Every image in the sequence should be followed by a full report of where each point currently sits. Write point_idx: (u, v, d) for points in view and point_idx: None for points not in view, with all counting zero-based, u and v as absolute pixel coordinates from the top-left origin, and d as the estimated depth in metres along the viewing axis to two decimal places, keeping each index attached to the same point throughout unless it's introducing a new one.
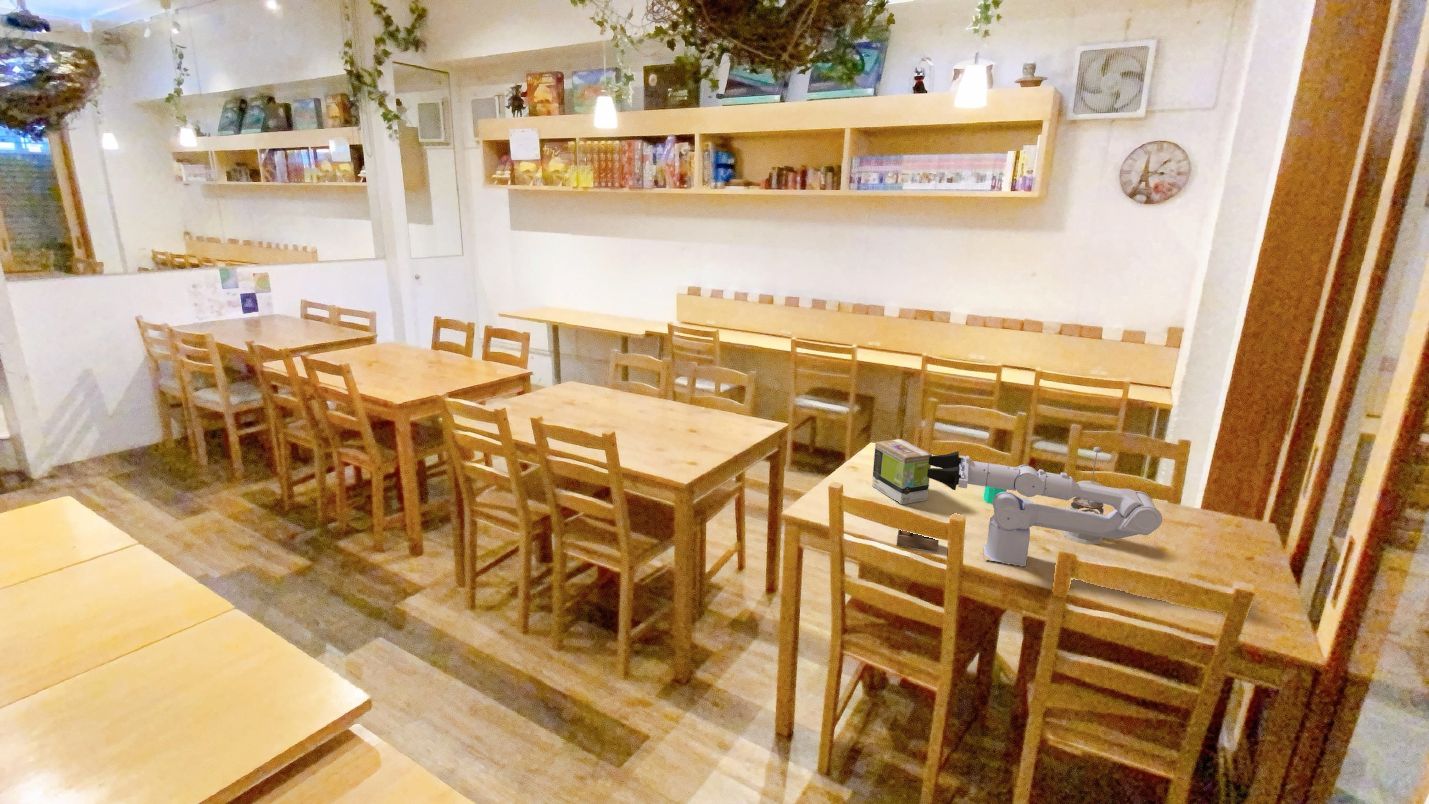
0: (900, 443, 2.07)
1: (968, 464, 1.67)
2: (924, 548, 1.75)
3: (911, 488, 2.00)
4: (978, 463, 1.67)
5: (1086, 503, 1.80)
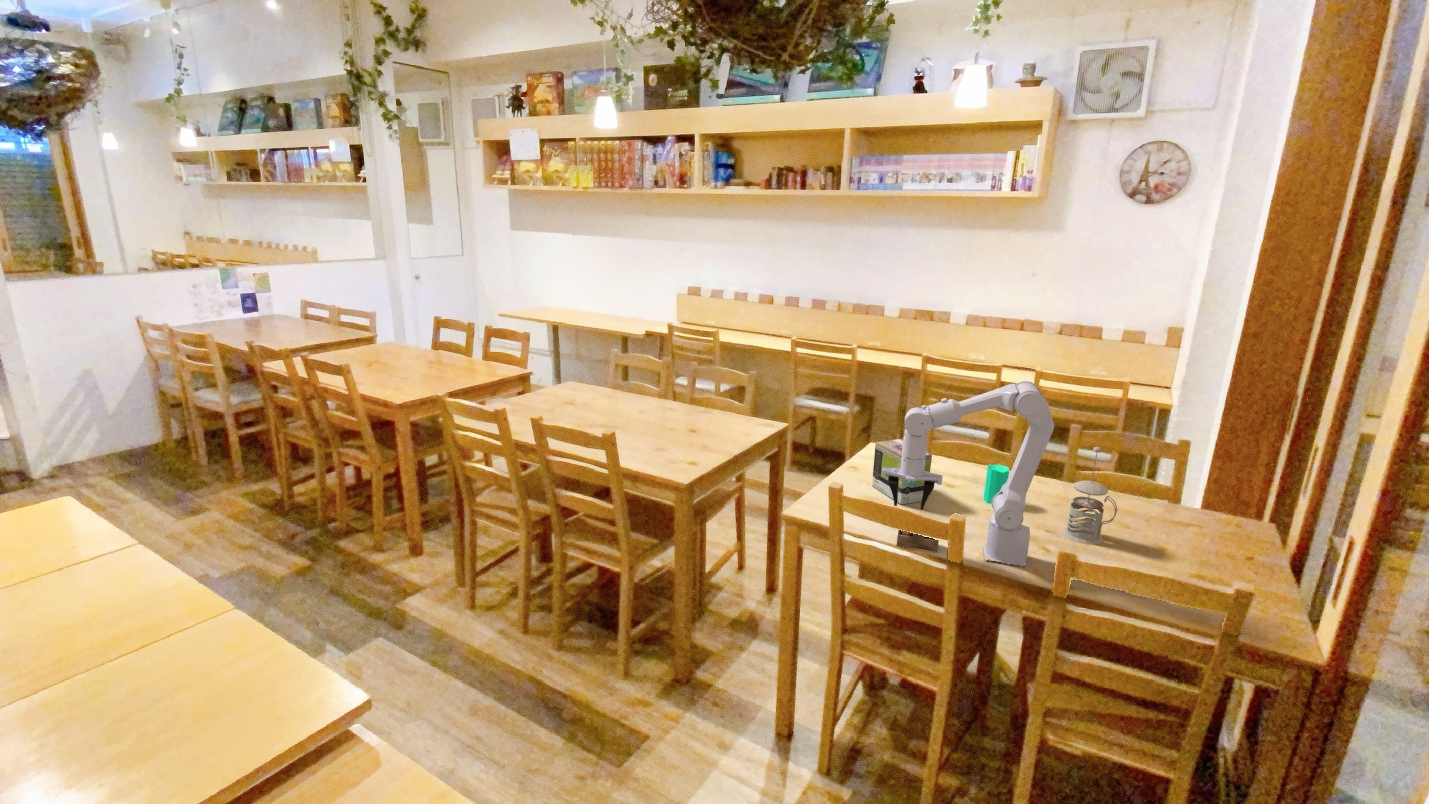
0: (900, 443, 2.07)
1: (917, 477, 1.70)
2: (924, 548, 1.75)
3: (911, 488, 2.00)
4: (913, 468, 1.69)
5: (1086, 503, 1.80)
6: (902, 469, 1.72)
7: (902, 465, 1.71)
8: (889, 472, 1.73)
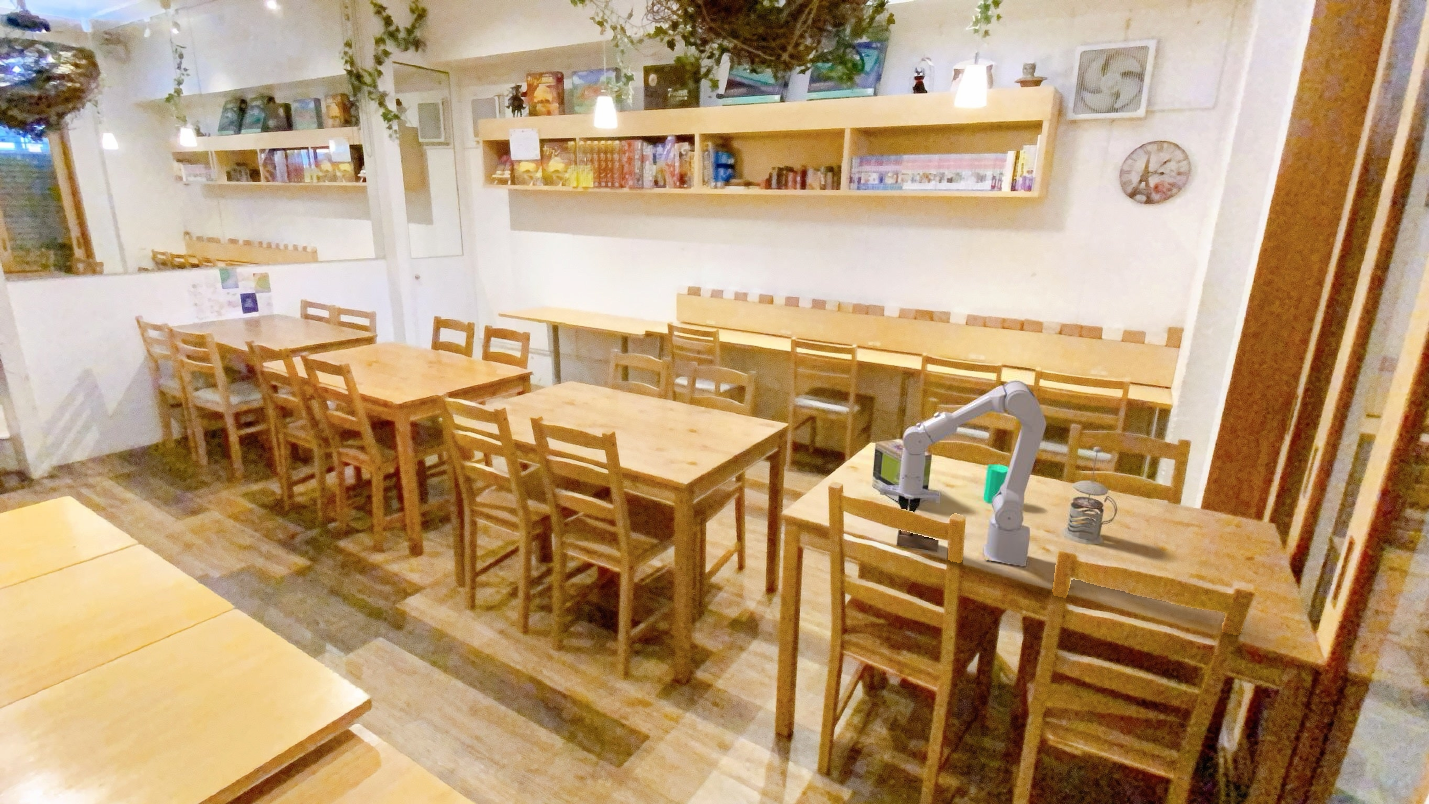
0: (900, 443, 2.07)
1: (915, 495, 1.71)
2: (924, 548, 1.75)
3: None
4: (911, 486, 1.71)
5: (1086, 503, 1.80)
6: (900, 487, 1.73)
7: (900, 483, 1.73)
8: (887, 490, 1.75)
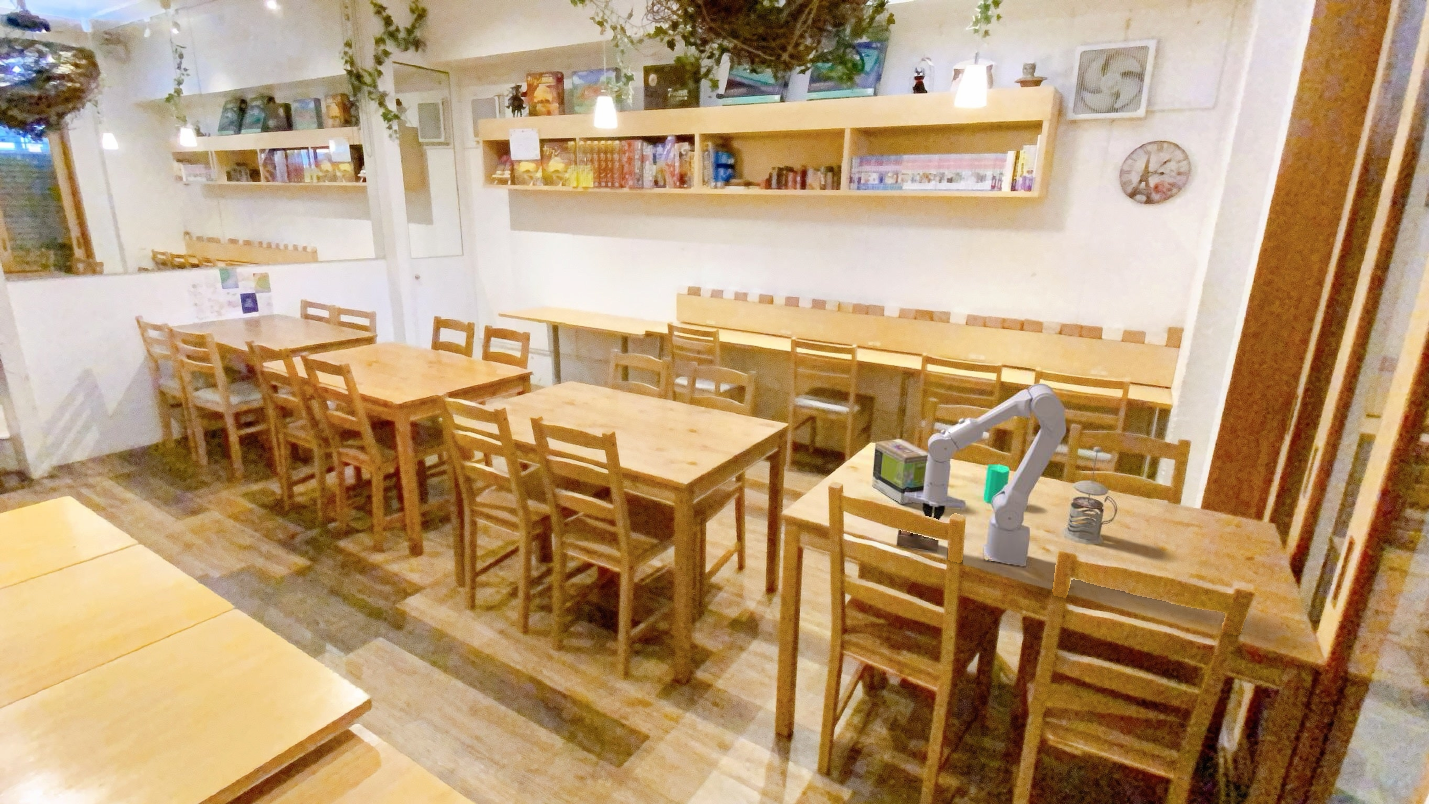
0: (900, 443, 2.07)
1: (940, 502, 1.70)
2: (924, 548, 1.75)
3: (911, 488, 2.00)
4: (936, 493, 1.69)
5: (1086, 503, 1.80)
6: (925, 494, 1.71)
7: (925, 490, 1.71)
8: (912, 497, 1.73)
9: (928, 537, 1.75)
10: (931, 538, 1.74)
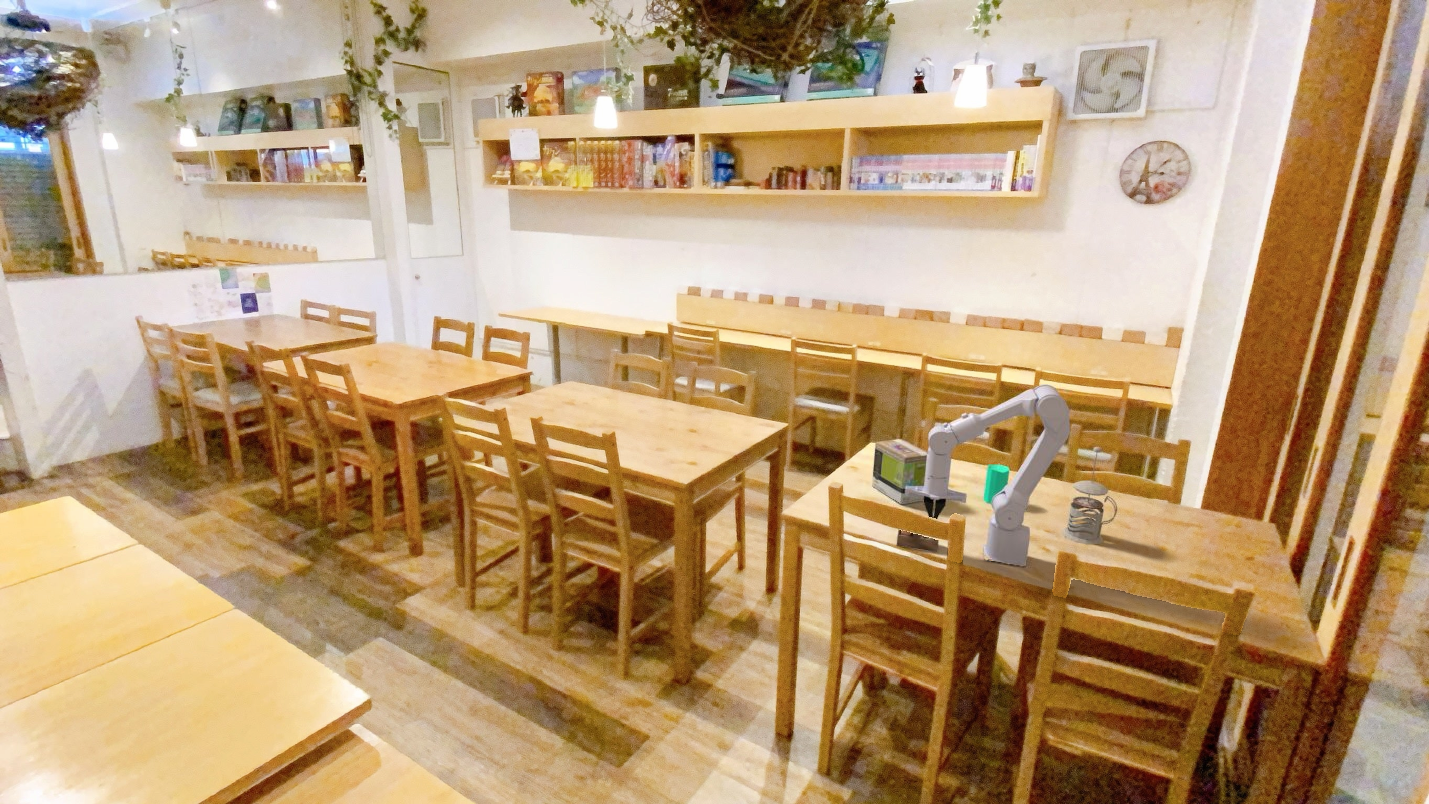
0: (900, 443, 2.07)
1: (941, 495, 1.69)
2: (924, 548, 1.75)
3: None
4: (937, 486, 1.69)
5: (1086, 503, 1.80)
6: (926, 487, 1.71)
7: (926, 483, 1.71)
8: (912, 490, 1.72)
9: None
10: None
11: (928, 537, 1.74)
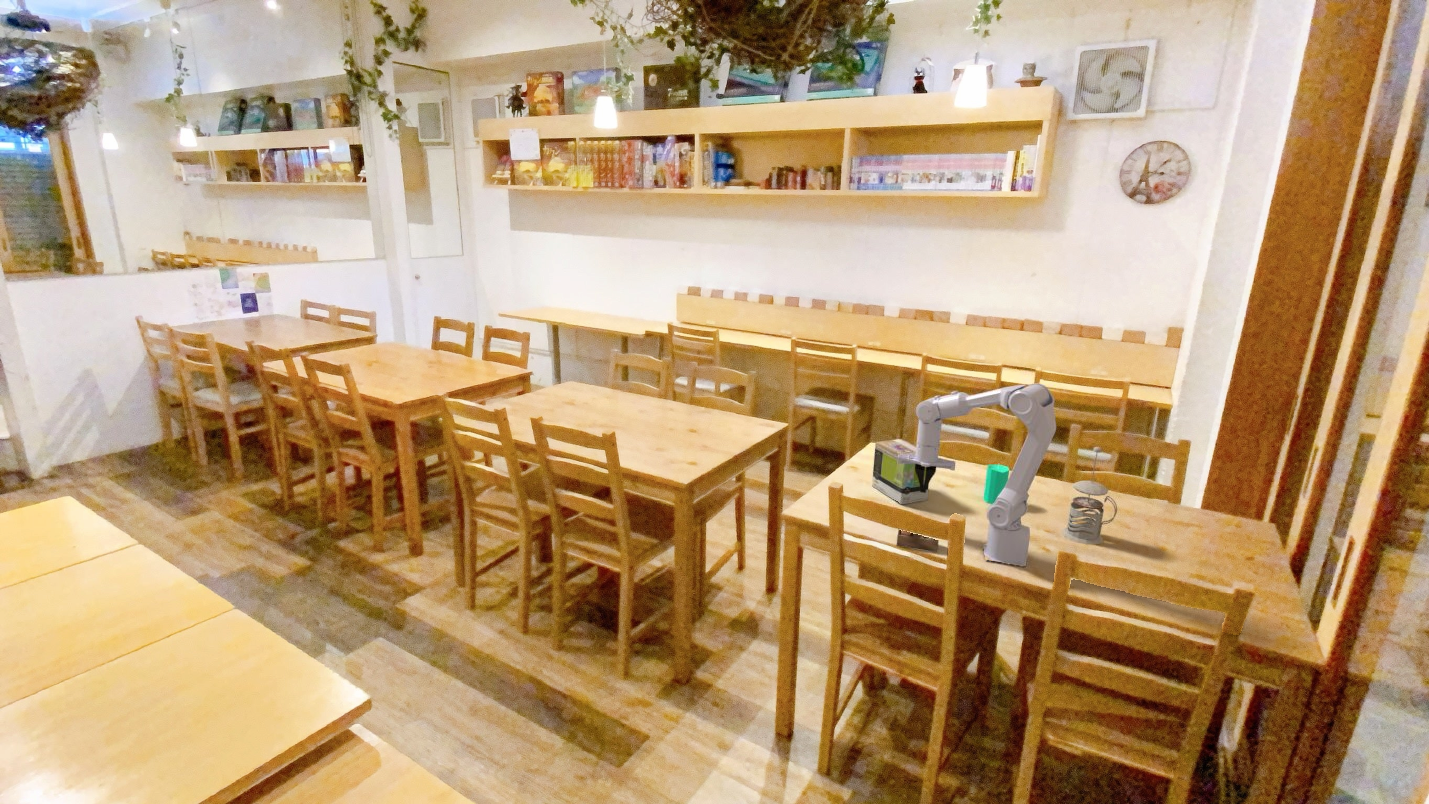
0: (900, 443, 2.07)
1: (931, 463, 1.79)
2: (924, 548, 1.75)
3: (911, 488, 2.00)
4: (928, 454, 1.78)
5: (1086, 503, 1.80)
6: (917, 456, 1.81)
7: (917, 452, 1.81)
8: (904, 458, 1.82)
9: None
10: None
11: (928, 537, 1.74)
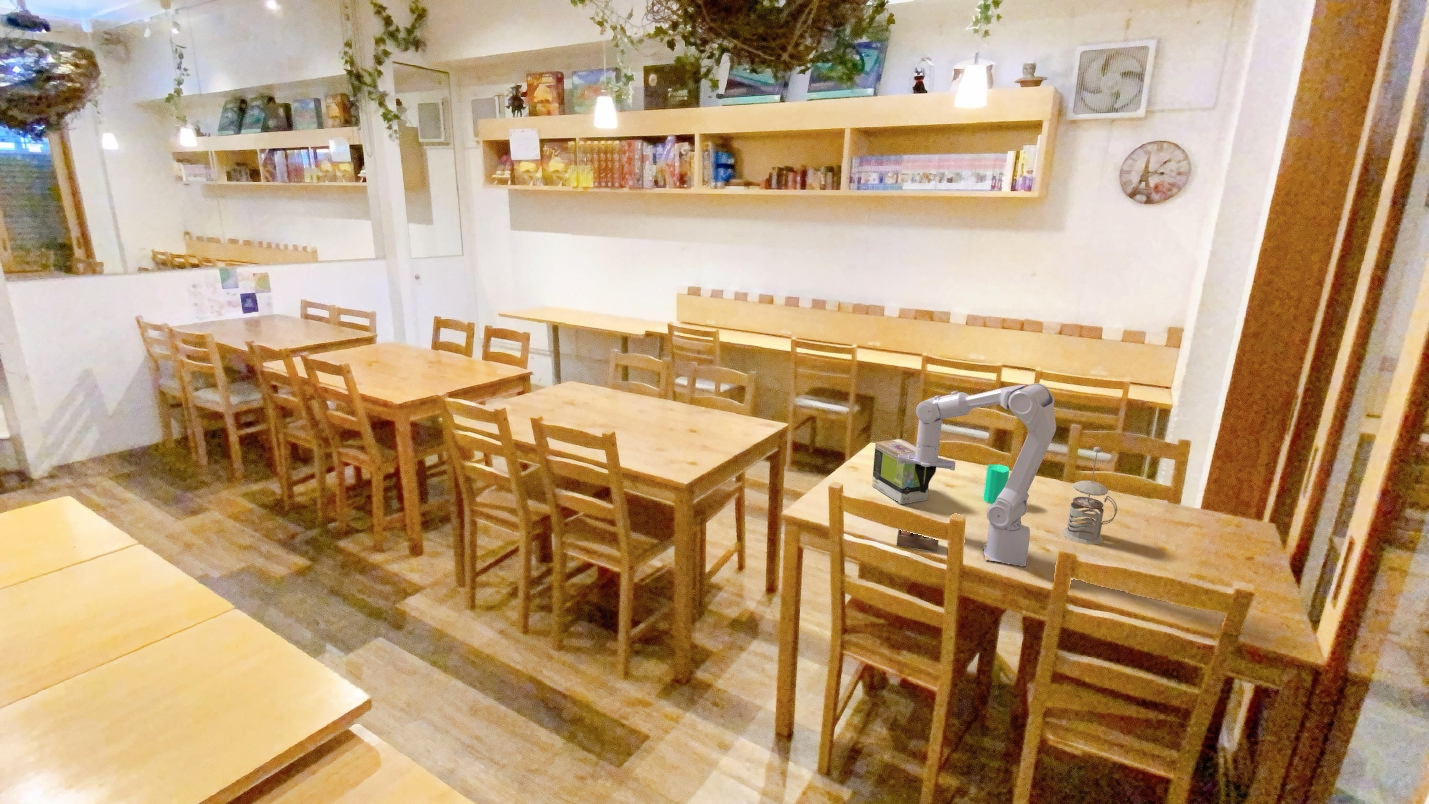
0: (900, 443, 2.07)
1: (931, 463, 1.79)
2: (924, 548, 1.75)
3: (911, 488, 2.00)
4: (928, 454, 1.78)
5: (1086, 503, 1.80)
6: (917, 456, 1.81)
7: (917, 452, 1.81)
8: (904, 458, 1.82)
9: None
10: None
11: (928, 537, 1.74)
